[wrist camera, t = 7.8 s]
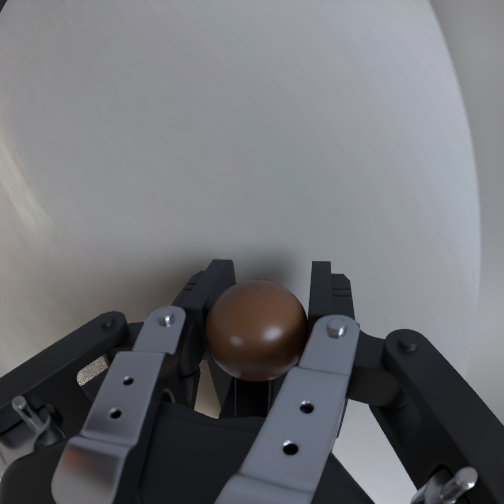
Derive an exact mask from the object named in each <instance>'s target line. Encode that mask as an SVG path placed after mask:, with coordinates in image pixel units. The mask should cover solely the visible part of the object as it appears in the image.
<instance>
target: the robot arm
mask: <svg viewBox="0 0 504 504" xmlns="http://www.w3.org/2000/svg"><path fill="white" fill-rule="evenodd" d="M235 284H236V281H235V273H234V265H233V261H232V260H223V259H214V260H213V261H212V262H211V263H210V265H209V266H208V268H207V269H206V271H202V270H201V271H200V272H198V273H197V274H195V275H193V276H192V277H191V279H190V280H189V281H188V283H187V285H185V287H184V288H183V290H182V291H181V292H180V293H179V295H178V296H177V298H176V299H175V300H174V302H173V303H172V304H171V306H164V307H160V308H158V309H156V310H154V311H152V312H151V313H150V314H149V315H148V316H147V318H146V320H145V322H140V323H129V324H128V323H127V320H126V318H125V315H124V314H123V313H121V312H117V311H112V312H107V313H104V314H101V315H99V316H98V317H96V318H94V319H93V320H91V321H89V322H88V323H86V324H85V325H83V326H81V327H80V328H78V329H77V330H75V331H73V332H72V333H70V334H68V335H67V336H65V337H64V338H62V339H60V340H59V341H57V342H56V343H54V344H53V345H51V346H49V347H48V348H46V349H45V350H43V351H41V352H40V353H38V354H37V355H35V356H34V357H32V358H30V359H29V360H27V361H26V362H24V363H23V364H21V365H20V366H18V367H17V368H15V369H13V370H12V371H10V372H9V373H7V374H6V375H4V376H3V377H1V378H0V451H1V453H2V455H3V457H4V459H5V462H6V464H7V466H8V467H7V469H6V470H5V472H4V473H3V476H2V478H1V482H0V504H375V503H374V502H373V500H372V499H371V498H370V497H369V496H368V495H367V494H366V492H365V491H364V490H363V489H362V488H361V487H360V486H359V484H358V483H357V482H356V481H355V480H354V479H353V477H352V476H351V475H350V474H349V473H348V471H347V470H346V469H345V468H344V467H343V465H342V464H341V463H340V462H339V461H338V459H337V458H336V457H335V456H334V455H333V453H332V450H333V447H334V443H335V440H336V436H337V433H338V429H339V426H340V422H341V418H342V415H343V411H344V407H345V403H346V399H347V398H348V399H351V400H355V401H359V402H362V403H366V404H369V408H370V410H371V412H372V413H373V415H374V417H375V418H376V420H377V422H378V423H379V425H380V427H381V429H382V430H383V432H384V434H385V435H386V437H387V439H388V440H389V442H390V444H391V446H392V447H393V449H394V451H395V452H396V454H397V456H398V458H399V459H400V461H401V463H402V465H403V466H404V468H405V470H406V471H407V473H408V475H409V477H410V478H411V480H412V482H413V484H414V485H415V487H416V489H417V492H416V494H415V495H414V496H413V498H412V500H411V502H410V504H504V426H503V425H502V423H501V422H500V421H499V420H498V419H497V417H496V416H495V415H494V414H493V413H492V411H491V410H490V409H489V408H488V407H487V405H486V404H485V403H484V402H483V401H482V399H481V398H480V397H479V396H478V395H477V394H476V392H475V391H474V390H473V389H472V388H471V387H470V386H469V384H468V383H467V382H466V381H465V380H464V379H463V378H462V376H461V375H460V374H459V373H458V372H457V371H456V370H455V369H454V368H453V366H452V365H451V364H450V363H449V362H448V361H447V360H446V359H445V358H444V357H443V356H442V354H441V353H440V352H439V351H438V350H437V349H436V348H435V347H434V346H433V345H432V344H431V343H430V342H429V341H428V340H427V338H426V337H424V336H423V335H422V334H420V333H419V332H416V331H414V330H409V329H399V330H395V331H393V332H391V333H390V334H388V335H387V337H386V339H381V338H376V337H372V336H370V335H367V334H365V333H364V332H362V331H361V330H360V328H359V325H358V323H357V322H356V321H355V316H354V308H353V300H352V292H351V285H350V280H349V279H348V278H347V277H346V276H345V275H344V274H331V262H330V261H312V272H311V286H310V299H309V310H308V336H307V345H306V347H305V350H304V352H303V354H302V357H301V359H300V362H299V364H298V366H294V365H293V366H292V367H291V368H290V369H289V371H288V374H287V376H286V378H285V380H284V382H283V384H282V387H281V389H280V391H279V393H278V395H277V397H276V399H275V401H274V404H273V406H272V408H271V410H270V412H269V414H268V416H267V417H257V416H253V417H240V418H224V419H215V418H211V417H209V416H206V415H204V414H202V413H199V412H197V411H195V410H194V406H195V401H196V395H197V389H198V384H199V378H200V368H199V364H200V362H201V360H209V361H212V360H213V357H212V356H211V354H210V352H209V349H208V346H207V343H206V338H205V324H206V319H207V315H208V312H209V310H210V308H211V306H212V304H213V303H214V301H215V300H216V299H217V298H218V296H219V295H220V294H221V293H222V292H224V291H225V290H226V289H228V288H229V287H231V286H233V285H235ZM100 356H103V358H104V360H105V362H106V364H107V366H108V368H107V369H105V370H104V371H102V372H101V373H99V374H98V375H97V376H95V377H94V378H92V379H91V380H90V381H88V382H87V383H85V384H84V385H82V386H79V384H78V382H77V374H78V372H79V371H80V370H81V369H83V368H84V367H86V366H87V365H89V364H90V363H92V362H93V361H94V360H96V359H97V358H99V357H100Z"/></svg>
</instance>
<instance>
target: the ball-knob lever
mask: <svg viewBox="0 0 504 504" xmlns="http://www.w3.org/2000/svg"><path fill="white" fill-rule="evenodd" d="M307 336H308V319H307V316H306V312H305V310H304V308H303V306H302V304H301V303H300V301H299V300H298V299H297V298H296V296H295V295H294V294H293V293H292V292H290V291H289V290H288V289H286V288H285V287H283V286H281V285H279V284H277V283H274V282H271V281H267V280H247V281H243V282H240V283H237V284H235V285H233V286H231V287H229V288H228V289H226V290H225V291H224V292H222V293H221V294H220V295H219V296H218V298H217V299H216V300H215V301H214V303H213V304H212V306H211V308H210V310H209V312H208V315H207V319H206V324H205V338H206V343H207V346H208V349H209V352H210V354H211V356H212V357H213V359H214V360H215V361H216V363H217V364H218V365H219V366H220V367H221V368H222V369H223V370H224V371H226V372H227V373H229V374H230V375H232V376H234V377H235V418H240V417H253V416H257V417H267V416H268V414H269V412H270V410H271V408H272V406H273V398H274V379H275V378H278V377H280V376H282V375H283V374H285V373H286V372H288V371H289V369H290V368H291V367H292V366H293V365H294V366H295V365H296V364H297V362H298V361H299V360H300V358H301V357H302V354H303V352H304V350H305V347H306V345H307Z"/></svg>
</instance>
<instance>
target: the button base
mask: <svg viewBox="0 0 504 504" xmlns="http://www.w3.org/2000/svg"><path fill="white" fill-rule="evenodd" d="M5 2H6V0H0V11H1V9H2V7H3V6H4V4H5Z"/></svg>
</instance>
